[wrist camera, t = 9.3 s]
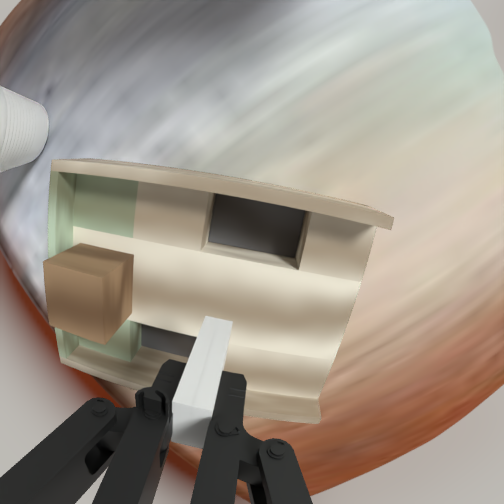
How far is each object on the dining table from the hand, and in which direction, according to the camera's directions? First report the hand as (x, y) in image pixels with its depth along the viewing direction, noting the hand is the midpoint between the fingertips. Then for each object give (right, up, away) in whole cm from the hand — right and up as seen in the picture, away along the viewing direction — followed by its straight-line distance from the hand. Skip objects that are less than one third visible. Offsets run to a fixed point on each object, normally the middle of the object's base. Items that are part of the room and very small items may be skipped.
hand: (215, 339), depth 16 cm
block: (-10, +3, +6) cm, 12 cm away
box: (-2, +2, +9) cm, 9 cm away
